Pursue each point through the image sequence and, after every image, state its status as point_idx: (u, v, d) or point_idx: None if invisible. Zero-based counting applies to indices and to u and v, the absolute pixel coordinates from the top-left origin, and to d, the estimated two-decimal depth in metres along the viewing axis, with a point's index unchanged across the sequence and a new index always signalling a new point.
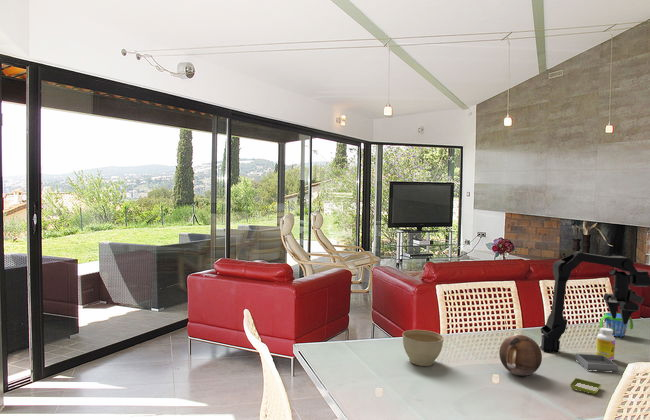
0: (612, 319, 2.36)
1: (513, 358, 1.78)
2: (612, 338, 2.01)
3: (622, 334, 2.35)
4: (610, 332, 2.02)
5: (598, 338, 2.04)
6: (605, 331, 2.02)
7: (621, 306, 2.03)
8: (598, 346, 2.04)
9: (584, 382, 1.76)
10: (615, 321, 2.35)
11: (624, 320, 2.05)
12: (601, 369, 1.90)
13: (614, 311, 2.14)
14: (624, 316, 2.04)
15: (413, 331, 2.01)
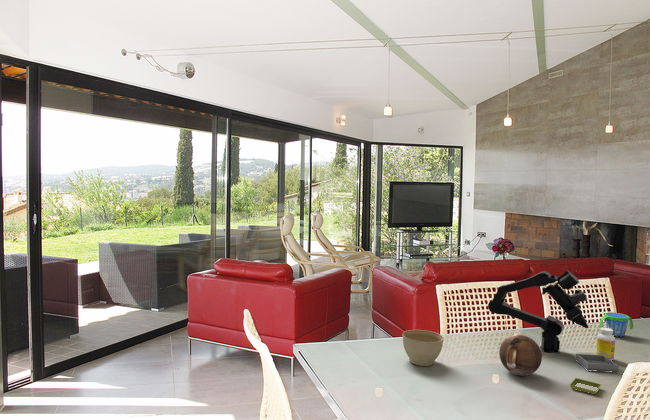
0: (612, 319, 2.36)
1: (513, 358, 1.78)
2: (612, 338, 2.01)
3: (622, 334, 2.35)
4: (610, 332, 2.02)
5: (598, 338, 2.04)
6: (605, 331, 2.02)
7: None
8: (598, 346, 2.04)
9: (584, 382, 1.76)
10: (615, 321, 2.35)
11: (583, 325, 2.03)
12: (601, 369, 1.90)
13: None
14: (579, 322, 2.03)
15: (413, 331, 2.01)
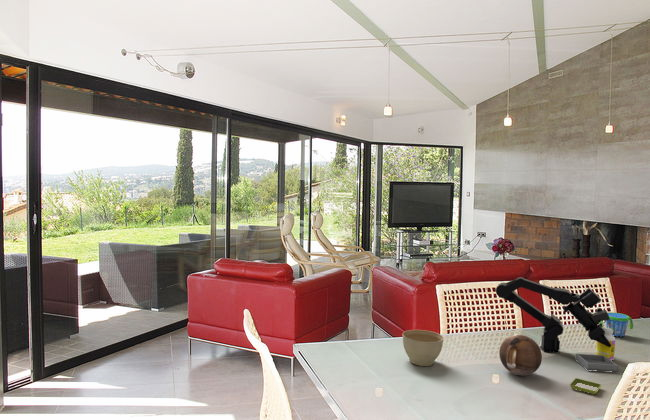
0: (612, 319, 2.36)
1: (513, 358, 1.78)
2: (612, 338, 2.01)
3: (622, 334, 2.35)
4: (610, 332, 2.02)
5: None
6: (605, 331, 2.02)
7: None
8: (598, 346, 2.04)
9: (584, 382, 1.76)
10: (615, 321, 2.35)
11: (606, 344, 2.00)
12: (601, 369, 1.90)
13: None
14: (602, 341, 2.01)
15: (413, 331, 2.01)
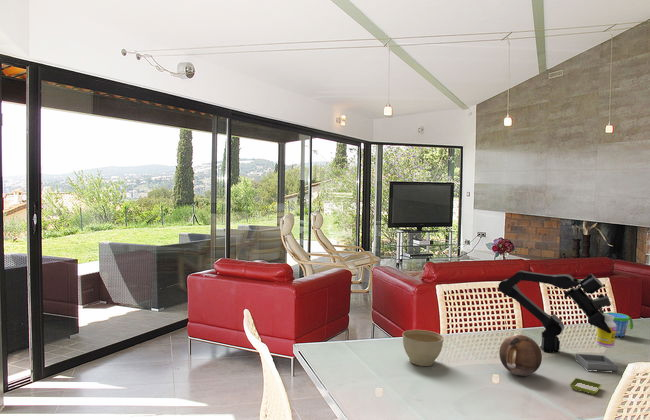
0: None
1: (513, 358, 1.78)
2: (613, 324, 1.99)
3: (622, 334, 2.35)
4: (611, 318, 1.99)
5: None
6: (606, 317, 2.00)
7: None
8: (598, 332, 2.02)
9: (584, 382, 1.76)
10: (615, 321, 2.35)
11: (606, 330, 1.98)
12: (601, 369, 1.90)
13: None
14: (602, 327, 1.98)
15: (413, 331, 2.01)
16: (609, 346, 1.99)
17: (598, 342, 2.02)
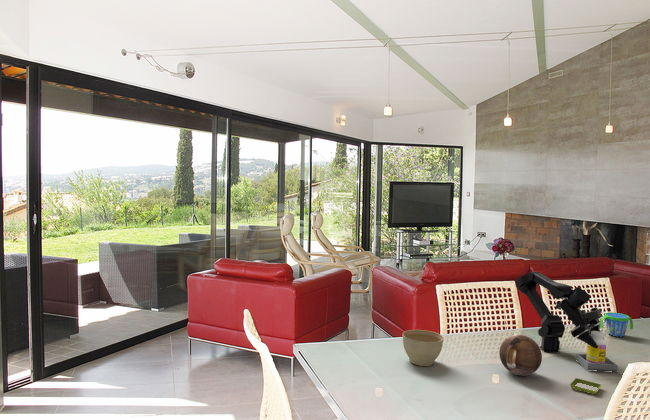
0: (612, 319, 2.36)
1: (513, 358, 1.78)
2: (601, 342, 1.92)
3: (622, 334, 2.35)
4: (599, 336, 1.93)
5: None
6: (594, 334, 1.94)
7: None
8: (587, 349, 1.96)
9: (584, 382, 1.76)
10: (615, 321, 2.35)
11: (591, 345, 1.91)
12: (601, 369, 1.90)
13: None
14: (587, 341, 1.92)
15: (413, 331, 2.01)
16: None
17: (587, 359, 1.96)
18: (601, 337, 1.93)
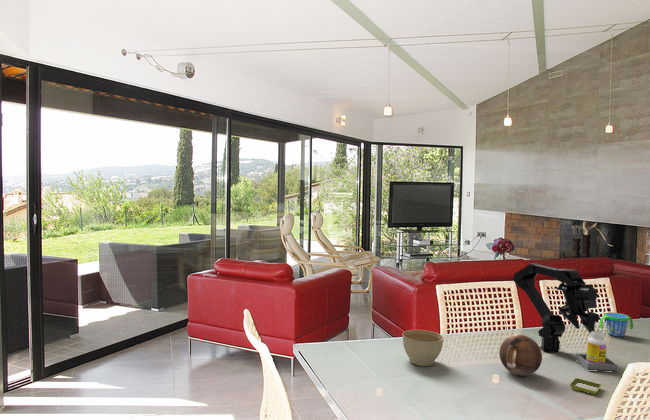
0: (612, 319, 2.36)
1: (513, 358, 1.78)
2: (601, 342, 1.92)
3: (622, 334, 2.35)
4: (599, 336, 1.93)
5: None
6: (594, 334, 1.94)
7: (584, 322, 1.98)
8: (587, 349, 1.96)
9: (584, 382, 1.76)
10: (615, 321, 2.35)
11: None
12: (601, 369, 1.90)
13: (575, 321, 2.10)
14: (590, 328, 2.00)
15: (413, 331, 2.01)
16: None
17: (587, 359, 1.96)
18: (601, 337, 1.93)
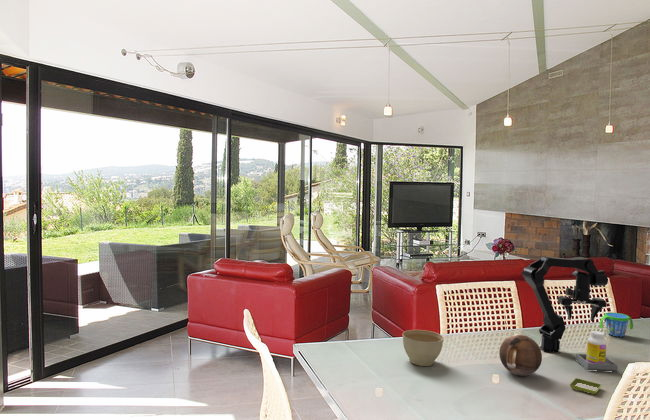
0: (612, 319, 2.36)
1: (513, 358, 1.78)
2: (601, 342, 1.92)
3: (622, 334, 2.35)
4: (599, 336, 1.93)
5: None
6: (594, 334, 1.94)
7: (601, 305, 2.11)
8: (587, 349, 1.96)
9: (584, 382, 1.76)
10: (615, 321, 2.35)
11: None
12: (601, 369, 1.90)
13: None
14: None
15: (413, 331, 2.01)
16: None
17: (587, 359, 1.96)
18: (601, 337, 1.93)
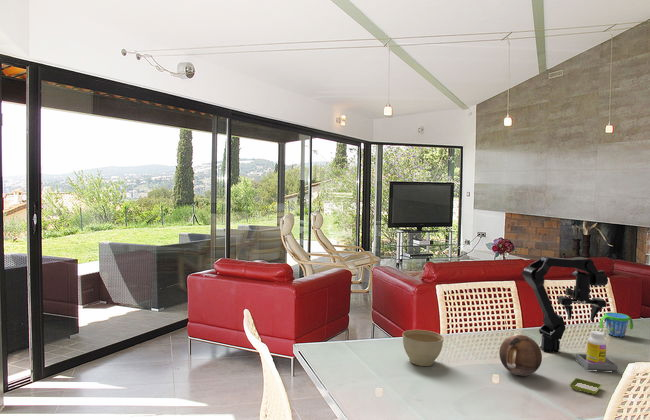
0: (612, 319, 2.36)
1: (513, 358, 1.78)
2: (601, 342, 1.92)
3: (622, 334, 2.35)
4: (599, 336, 1.93)
5: None
6: (594, 334, 1.94)
7: (601, 305, 2.11)
8: (587, 349, 1.96)
9: (584, 382, 1.76)
10: (615, 321, 2.35)
11: None
12: (601, 369, 1.90)
13: None
14: None
15: (413, 331, 2.01)
16: None
17: (587, 359, 1.96)
18: (601, 337, 1.93)
